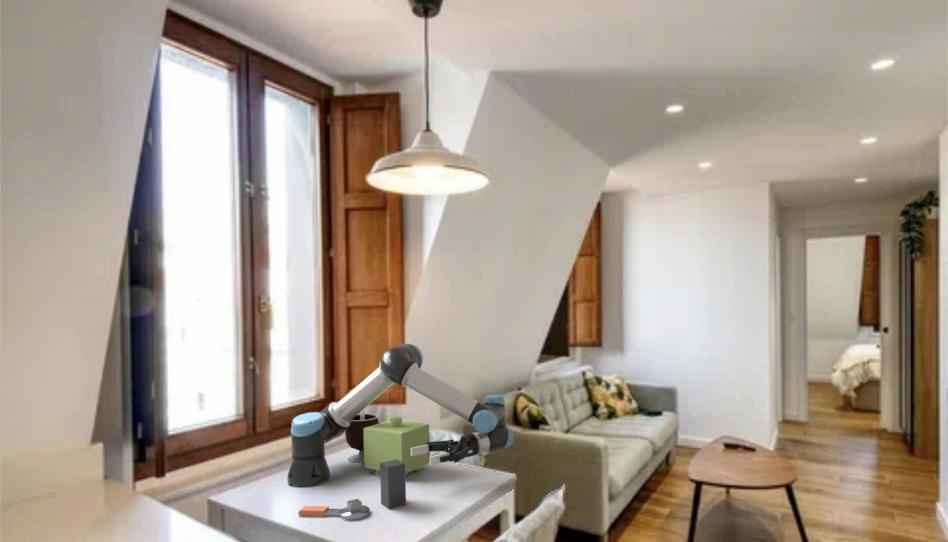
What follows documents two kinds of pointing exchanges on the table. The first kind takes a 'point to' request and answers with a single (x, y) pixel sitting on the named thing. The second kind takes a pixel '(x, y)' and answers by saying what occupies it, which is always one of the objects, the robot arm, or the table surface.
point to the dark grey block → (393, 484)
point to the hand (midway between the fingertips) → (420, 456)
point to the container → (395, 444)
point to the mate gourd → (359, 434)
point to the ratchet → (338, 511)
